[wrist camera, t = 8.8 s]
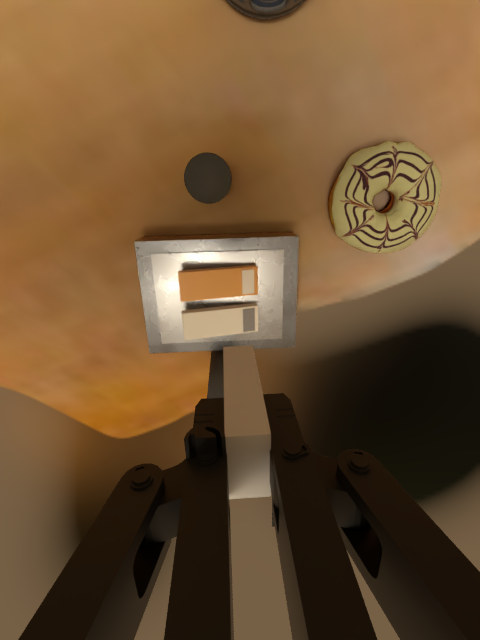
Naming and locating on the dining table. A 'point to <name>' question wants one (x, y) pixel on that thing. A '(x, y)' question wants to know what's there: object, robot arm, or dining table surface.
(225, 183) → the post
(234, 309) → the paddle ivory
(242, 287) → the paddle orange
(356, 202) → the decorated donut
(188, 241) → the breaker box
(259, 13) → the beverage bottle
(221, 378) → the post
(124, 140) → the dining table surface
